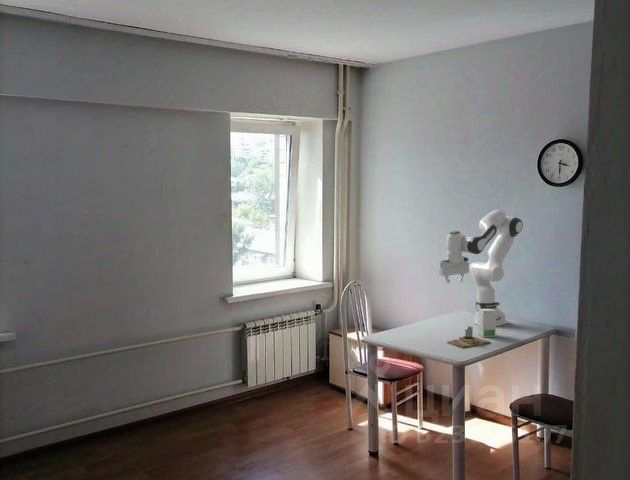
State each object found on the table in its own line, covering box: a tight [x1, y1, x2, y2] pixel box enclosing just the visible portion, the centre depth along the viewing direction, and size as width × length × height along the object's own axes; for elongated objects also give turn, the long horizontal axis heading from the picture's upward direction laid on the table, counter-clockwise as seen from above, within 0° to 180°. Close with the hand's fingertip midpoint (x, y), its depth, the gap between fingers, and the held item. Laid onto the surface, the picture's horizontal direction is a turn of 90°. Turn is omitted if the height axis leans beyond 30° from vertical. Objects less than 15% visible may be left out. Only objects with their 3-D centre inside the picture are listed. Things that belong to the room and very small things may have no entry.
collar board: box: [446, 336, 491, 349], centre depth 332 cm, size 20×13×3 cm, turn 116°
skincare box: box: [477, 309, 497, 338], centre depth 347 cm, size 8×7×16 cm
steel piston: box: [464, 326, 474, 340], centre depth 332 cm, size 4×4×8 cm
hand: (454, 282), depth 353 cm, fingers open, 8 cm apart
